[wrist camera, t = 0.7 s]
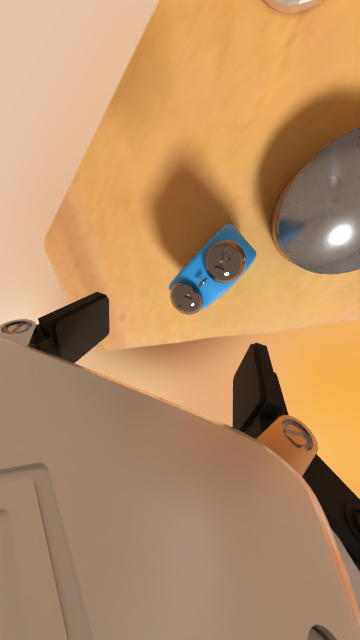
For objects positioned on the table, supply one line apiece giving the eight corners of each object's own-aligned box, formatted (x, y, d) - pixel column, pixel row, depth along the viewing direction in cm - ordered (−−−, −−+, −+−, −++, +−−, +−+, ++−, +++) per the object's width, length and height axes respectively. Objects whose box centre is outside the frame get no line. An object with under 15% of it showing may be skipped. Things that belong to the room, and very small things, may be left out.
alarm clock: (230, 223, 29) (227, 217, 17) (254, 250, 30) (268, 263, 17) (180, 276, 36) (150, 302, 23) (201, 297, 37) (183, 333, 24)
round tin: (302, 137, 23) (322, 110, 18) (431, 156, 21) (496, 131, 16) (255, 254, 30) (260, 258, 25) (347, 276, 28) (372, 286, 23)
